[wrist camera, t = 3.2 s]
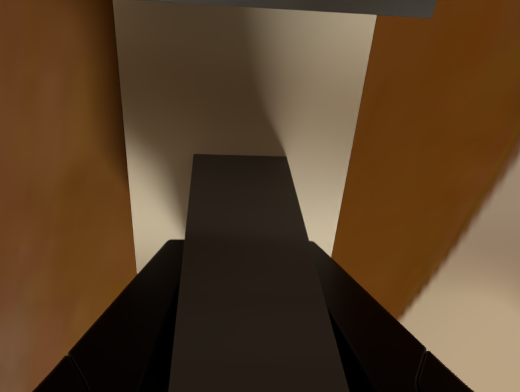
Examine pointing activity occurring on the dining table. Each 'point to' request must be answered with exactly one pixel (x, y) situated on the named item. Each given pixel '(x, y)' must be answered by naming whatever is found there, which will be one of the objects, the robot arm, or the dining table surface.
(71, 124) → the dining table surface
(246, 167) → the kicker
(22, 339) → the dining table surface
